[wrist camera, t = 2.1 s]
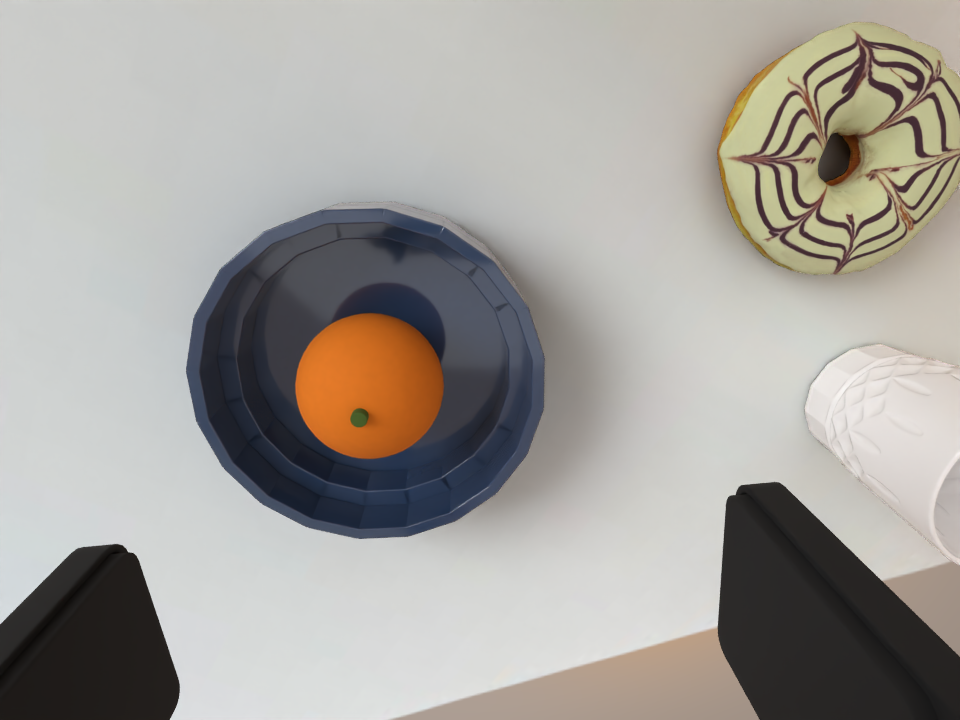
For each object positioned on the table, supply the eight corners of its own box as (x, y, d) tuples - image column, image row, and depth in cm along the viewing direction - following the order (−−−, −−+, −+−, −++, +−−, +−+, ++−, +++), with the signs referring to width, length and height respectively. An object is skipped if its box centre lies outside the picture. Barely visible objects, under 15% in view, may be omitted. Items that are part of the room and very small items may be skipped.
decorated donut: (831, -18, 26) (893, -47, 22) (959, 149, 28) (1032, 147, 25) (663, 164, 28) (694, 165, 24) (796, 303, 31) (842, 322, 27)
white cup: (825, 482, 35) (965, 602, 25) (770, 385, 32) (901, 477, 23) (948, 411, 33) (1143, 510, 24) (899, 305, 31) (1095, 368, 22)
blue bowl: (207, 450, 32) (167, 497, 28) (255, 158, 27) (215, 157, 23) (482, 513, 34) (486, 567, 30) (572, 254, 29) (594, 271, 25)
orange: (304, 401, 31) (260, 471, 24) (330, 281, 29) (290, 320, 22) (426, 431, 32) (418, 508, 25) (460, 317, 30) (462, 366, 23)
